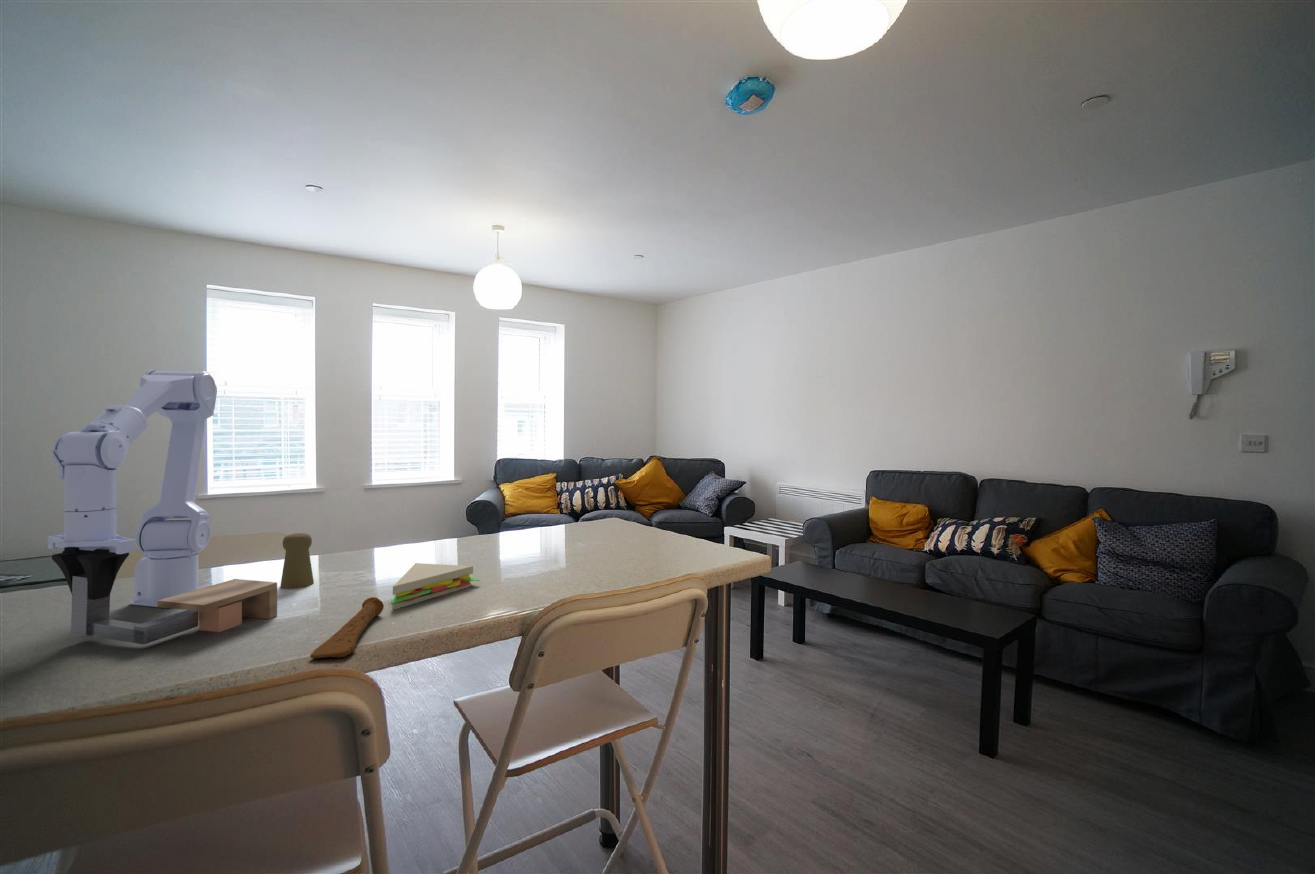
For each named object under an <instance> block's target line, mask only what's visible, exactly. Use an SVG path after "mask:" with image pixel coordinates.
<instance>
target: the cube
mask: <svg viewBox="0 0 1315 874" xmlns="http://www.w3.org/2000/svg"><path fill="white" fill-rule="evenodd" d="M242 619H243V616H242V601H235V602H232V603H229V604H226V605H223V606H220V607H217V608H214V609H210V610H207V611H204V612H203V611H199V620H198V630H199V631H203V632H204V631H205V632H213V633H220V632H223V631H226V630H228V629H229V630H230V629H231V628H234V627H237V626H240V625H242V624H243V620H242Z"/></svg>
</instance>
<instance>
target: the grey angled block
mask: <svg viewBox="0 0 1315 874" xmlns="http://www.w3.org/2000/svg"><path fill="white" fill-rule="evenodd" d="M110 602H111V595H110V596H108V597H104V598H100V599H96V600H91V598H90V595H89V591H88V582H87V577H86V573H85V574H80V575H75V576H73V579H72V594H71V613H70V615H71V617H70V619H71V620H70V621H71V623H70V635H72V636H77V637H83V638H87V637H94V638H95V637H96V638H102V639H107V640H113V641H114V640H115V641H119V642H126V643H132V644H139V645H147V644H150V643H153V642H155V641H158V640H162V639H164V638H168V637H170V636H174V635H177V634H179V633H182V632H183V633H184V632H185V631H188V630H191V629H195V628H197V627H198V628H199V611H193V610H183V611H179V612H177V613H174V614H169V615H167V616H164V617H161V618H156V619H154V620H150V621H146V622H142V623H138V622H130V621H124V620H118V619H110V613H111V612H110V609H111V608H110V606H111V603H110Z"/></svg>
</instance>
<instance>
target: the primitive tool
mask: <svg viewBox="0 0 1315 874" xmlns="http://www.w3.org/2000/svg"><path fill="white" fill-rule="evenodd" d="M384 607H385V605H384V603H383V601H382V600H381V599H380V598H378V597H376V596H375V597H372V596H371V597H369V598H367V599H365V600H364V601H363V602H362V604H361V609H360V610H359V611H358V612H357V613H356V614H355V615H353V617H352V618H350V619H349V620H348V621H347V622H346V623H345V624H344V625H342V627H340V629H339V630H338V631H336V632H335V633H334V634H333V635H331V637H330V638H328V639H327V640H325V641H324V642H323V643H322V644H320V645H319V646H318V647H316V648H315V649H314V650H313V651H312V653H311V654H310V656H309V657H310V659H321V658H322V659H323V658H337V659H339V658H345V657H347V656H349V655H350V654H351V653H353V652H354V650H355V649H356V648H357V642H358V640H359V638H360V636H361V635H362V633H363V632H364V631H365V629H366V628H367V626H368V625H369V623H370V622H371V621H373V618H375V617H378V616H380V614H381V613H383V611H384Z"/></svg>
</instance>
